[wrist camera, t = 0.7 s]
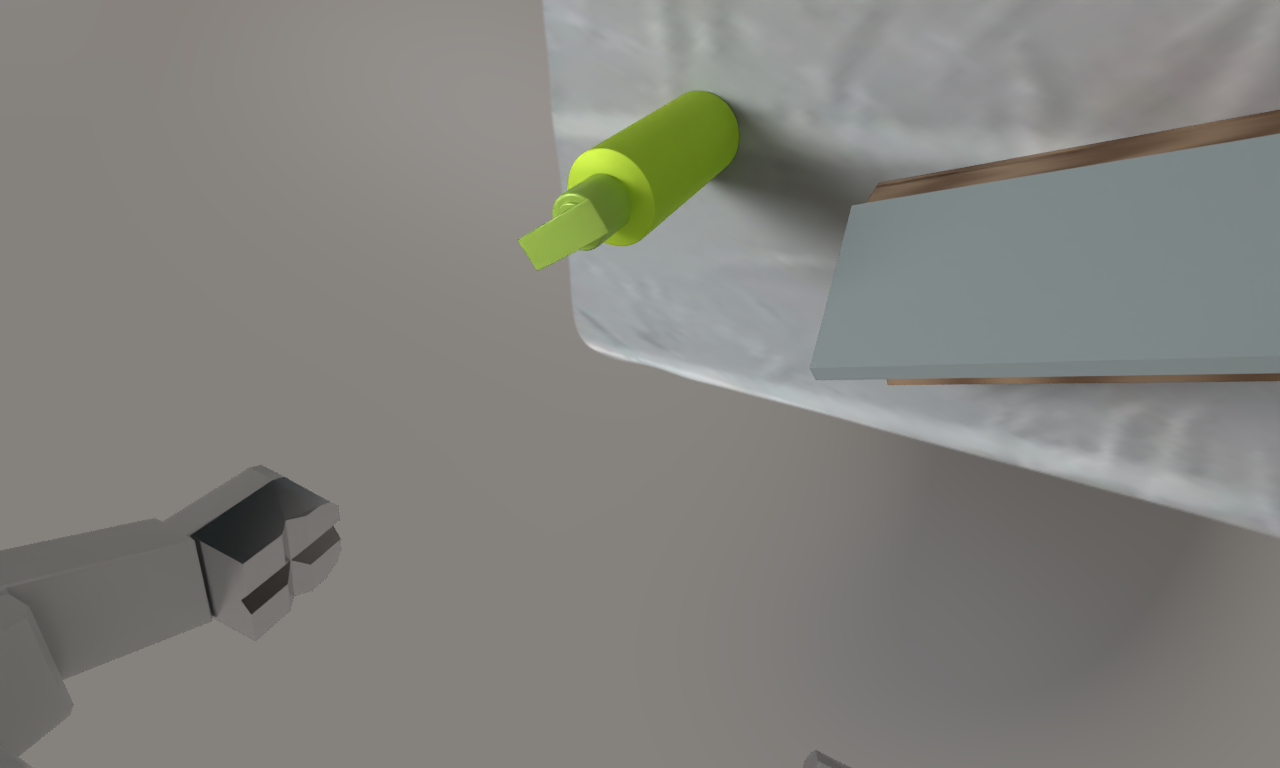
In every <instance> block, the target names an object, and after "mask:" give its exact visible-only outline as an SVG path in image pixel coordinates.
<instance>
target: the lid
mask: <svg viewBox="0 0 1280 768" xmlns="http://www.w3.org/2000/svg"><path fill="white" fill-rule="evenodd" d="M810 369H811V372H812V374H813V376H814V378H815V380H865V379H932V378H998V377H1065V376H1131V375H1197V374H1264V373H1280V134H1274V135H1268V136H1262V137H1256V138H1251V139H1245V140H1239V141H1233V142H1227V143H1221V144H1215V145H1209V146H1203V147H1197V148H1191V149H1185V150H1179V151H1173V152H1167V153H1161V154H1155V155H1149V156H1143V157H1137V158H1131V159H1125V160H1119V161H1113V162H1107V163H1102V164H1096V165H1090V166H1084V167H1078V168H1072V169H1066V170H1060V171H1054V172H1048V173H1042V174H1036V175H1030V176H1024V177H1018V178H1012V179H1006V180H1000V181H994V182H988V183H982V184H976V185H970V186H964V187H959V188H953V189H947V190H941V191H935V192H929V193H923V194H917V195H911V196H905V197H899V198H893V199H887V200H881V201H875V202H869V203H863V204H857V205H852V207H851V210H850V214H849V218H848V222H847V226H846V230H845V234H844V238H843V241H842V245H841V249H840V253H839V257H838V261H837V265H836V269H835V273H834V276H833V280H832V284H831V288H830V292H829V296H828V300H827V304H826V308H825V311H824V315H823V319H822V323H821V327H820V331H819V335H818V339H817V342H816V346H815V350H814V354H813V358H812V362H811V366H810Z"/></svg>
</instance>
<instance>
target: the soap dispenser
mask: <svg viewBox="0 0 1280 768" xmlns="http://www.w3.org/2000/svg"><path fill="white" fill-rule="evenodd" d="M738 145H739V128H738V123H737V120H736V118H735V115H734V113H733V112H732V110H731V108H730V107H729V106H728V105H727V104H726V102H724V101H723V100H722V99H721V98H720V97H718V96H716V95H714V94H712V93H710V92H706V91H691V92H688V93H685V94H683V95H682V96H680V97H678V98H676V99H675V100H673V101H671V102H670V103H668V104H666V105H664V106H663V107H661V108H659V109H658V110H656V111H654V112H653V113H651V114H649V115H647V116H646V117H644V118H642V119H641V120H639V121H637V122H636V123H634V124H632V125H630V126H629V127H627V128H625V129H624V130H622V131H620V132H618V133H617V134H615V135H613V136H612V137H610V138H608V139H607V140H605V141H603V142H601V143H600V144H598V145H596V146H595V147H593V148H591V149H589V150H588V151H586V152H584V153H583V154H582V155H580V156H579V157H578V158H577V159H576V161H575V162H574V164H573V166H572V168H571V170H570V173H569V177H568V191H566V192H565V193H563V194H562V195H560V196H559V197H558V198H557V200H556V201H555V204H554V206H553V211H552V216H553V219H552V220H550V221H548V222H547V223H545V224H543V225H542V226H540V227H538V228H537V229H535V230H533V231H532V232H530V233H528V234H526V235H525V236H523V237H522V238H520V239H519V240H518V242H519V243H520V245H521V246H522V248H523V249H524V251H525V253H526V254H527V256H528V257H529V259H530V260H531V262H532V263H533V265H534V267H535V268H536V270H537V271H539V270H541V269H543V268H544V267H547V266H549V265H551V264H553V263H555V262H556V261H558V260H560V259H562V258H564V257H566V256H568V255H570V254H572V253H574V252H576V251H577V250H583V251H588V250H592V249H595V248H596V247H598V246H599V245H601V244H602V243H603V242H604V243H607V244H610V245H614V246H628V245H632V244H635V243H637V242H639V241H640V240H641V239H643V238H644V237H645V236H646V235H647V234H649V233H650V232H651V231H652V230H653V229H654V228H656V227H657V226H658V225H659V224H660V223H661V222H663V221H664V220H665V219H666V218H667V217H668V216H670V215H671V214H672V213H673V212H674V211H675V210H677V209H678V208H679V207H680V206H681V205H682V204H684V203H685V202H686V201H687V200H688V199H689V198H691V197H692V196H693V195H694V194H695V193H696V192H698V191H699V190H700V189H701V188H702V187H703V186H705V185H706V184H707V183H708V182H709V181H710V180H712V179H713V178H714V177H715V176H716V175H717V174H719V173H720V172H721V171H722V170H723V169H724V168H726V167H727V166H728V165H729V164H730V163H731V161H732V160H733V158H734V156H735V154H736V152H737V149H738Z"/></svg>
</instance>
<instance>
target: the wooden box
mask: <svg viewBox="0 0 1280 768" xmlns="http://www.w3.org/2000/svg"><path fill="white" fill-rule="evenodd" d="M1274 134H1280V110H1276V111H1270V112H1265V113H1259V114H1254V115H1249V116H1243V117H1238V118H1232V119H1227V120H1221V121H1216V122H1210V123H1205V124H1199V125H1194V126H1188V127H1183V128H1177V129H1172V130H1167V131H1161V132H1156V133H1150V134H1145V135H1139V136H1134V137H1128V138H1123V139H1117V140H1112V141H1106V142H1101V143H1095V144H1090V145H1085V146H1079V147H1074V148H1068V149H1063V150H1057V151H1052V152H1046V153H1041V154H1035V155H1030V156H1024V157H1019V158H1013V159H1008V160H1003V161H997V162H992V163H986V164H981V165H975V166H970V167H964V168H959V169H953V170H948V171H942V172H937V173H932V174H926V175H921V176H915V177H910V178H904V179H899V180H893V181H888V182H882V183H879V184H878V185H877V187H876V188H875V190H874V191H873V193H872V194H871V196H870V198H869V199H868V201H867V202H866V203H869V202H875V201H881V200H887V199H893V198H899V197H905V196H911V195H917V194H923V193H929V192H935V191H941V190H947V189H953V188H959V187H964V186H970V185H976V184H982V183H988V182H994V181H1000V180H1006V179H1012V178H1018V177H1024V176H1030V175H1036V174H1042V173H1048V172H1054V171H1060V170H1066V169H1072V168H1078V167H1084V166H1090V165H1096V164H1102V163H1107V162H1113V161H1119V160H1125V159H1131V158H1137V157H1143V156H1149V155H1155V154H1161V153H1167V152H1173V151H1179V150H1185V149H1191V148H1197V147H1203V146H1209V145H1215V144H1221V143H1227V142H1233V141H1239V140H1245V139H1251V138H1256V137H1262V136H1268V135H1274ZM1231 381H1280V373H1264V374H1197V375H1131V376H1065V377H998V378H932V379H887V384H888V385H935V384H1034V383H1133V382H1231Z"/></svg>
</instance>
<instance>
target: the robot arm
mask: <svg viewBox="0 0 1280 768" xmlns="http://www.w3.org/2000/svg"><path fill="white" fill-rule="evenodd" d="M339 520H340V516H339V506H338V505H337V504H335V503H333V502H331V501H329V500H327V499H325V498H324V497H322V496H320V495H318V494H316V493H314V492H312V491H310V490H308V489H307V488H305V487H303V486H301V485H299V484H297V483H295V482H293V481H291V480H290V479H288V478H287V477H285V476H283V475H281V474H279V473H277V472H275V471H273V470H271V469H269V468H267V467H265V466H263V465H258V466H253V467H249V468H247V469H245V470H244V471H242V472H241V473H239V474H237V475H236V476H234V477H233V478H231V479H230V480H228V481H226V482H225V483H223V484H221V485H220V486H218V487H217V488H215V489H213V490H212V491H210V492H209V493H207V494H205V495H204V496H202V497H201V498H199V499H197V500H196V501H194V502H193V503H191V504H189V505H188V506H186V507H185V508H183V509H182V510H180V511H178V512H177V513H175V514H173V515H172V516H170V517H169V518H167V519H165V520H164V521H161V520H159V519H156V518H152V519H147V520H142V521H138V522H133V523H128V524H124V525H119V526H114V527H109V528H104V529H100V530H95V531H91V532H86V533H81V534H76V535H71V536H67V537H62V538H57V539H52V540H48V541H43V542H38V543H34V544H29V545H24V546H19V547H14V548H10V549H5V550H0V768H33V767H32V766H31V765H29V764H28V763H26V762H25V761H23V760H22V759H21V758H19V756H20V755H21V754H22V753H23V752H25V751H26V750H27V749H29V748H30V747H31V746H32V745H34V744H35V743H36V742H37V741H39V740H40V739H41V738H42V737H43V736H45V735H46V734H47V733H48V732H50V731H51V730H52V729H53V728H55V727H56V726H57V725H58V724H60V723H61V722H62V721H63V720H65V719H66V718H67V717H68V716H70V714H71V711H72V708H73V705H74V704H73V702H72V700H71V697H70V695H69V693H68V691H67V689H66V686H65V684H64V682H63V680H64V679H66V678H68V677H71V676H74V675H76V674H79V673H81V672H84V671H87V670H89V669H92V668H94V667H97V666H99V665H102V664H104V663H107V662H109V661H112V660H115V659H117V658H120V657H122V656H125V655H127V654H130V653H132V652H135V651H138V650H140V649H142V648H145V647H148V646H150V645H153V644H155V643H158V642H160V641H163V640H166V639H168V638H171V637H173V636H176V635H178V634H181V633H184V632H186V631H189V630H191V629H194V628H196V627H199V626H201V625H204V624H206V623H209V622H211V621H212V618H214V619H216V620H218V621H219V622H222V623H223V624H225V625H227V626H229V627H230V628H232V629H234V630H236V631H238V632H240V633H242V634H243V635H245V636H247V637H249V638H251V639H253V640H254V641H257V640H258V639H259V638H260V637H261V636H262V635H263V634H264V633H266V632H267V631H268V630H269V629H270V628H271V627H272V626H274V625H275V624H276V623H277V622H278V621H279V620H280V619H281V618H282V617H284V616H285V615H286V614H287V613H288V612H289V611H290V610H291V607H292V603H293V599H294V596H297V595H300V594H303V593H307V592H310V591H313V590H314V589H315V588H316V587H317V586H318V585H319V584H320V583H321V582H323V581H324V579H326V578H327V577H328V575H329V573H330V572H331V571H332V569H333V567H334V566H335V564H336V563H337V561H338V558H339V554H340V551H341V538H340V537H339V535H338V533H337V532H336V530H335V528H334V526H333V525H334V524H336V523H337V522H338V521H339ZM803 768H851V767H849V766H847V765H845V764H843V763H841V762H839V761H837V760H835V759H833V758H831V757H829V756H827V755H825V754H823V753H821V752H819V751H817V750H815V751H813V752H811V753H810V754H809V756H808V757H807V758H806V760H805V761H804V765H803Z"/></svg>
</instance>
